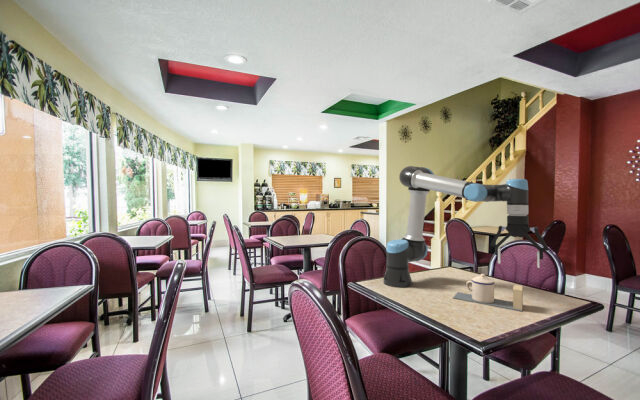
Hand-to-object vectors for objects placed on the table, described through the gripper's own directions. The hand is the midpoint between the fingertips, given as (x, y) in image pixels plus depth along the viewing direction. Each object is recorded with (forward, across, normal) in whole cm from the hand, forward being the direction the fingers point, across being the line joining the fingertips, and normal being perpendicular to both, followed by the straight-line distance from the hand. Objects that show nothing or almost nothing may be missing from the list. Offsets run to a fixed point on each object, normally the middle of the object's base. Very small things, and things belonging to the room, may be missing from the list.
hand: (518, 265), depth 120 cm
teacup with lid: (+18, -15, 0) cm, 23 cm away
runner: (+18, -12, 0) cm, 21 cm away
